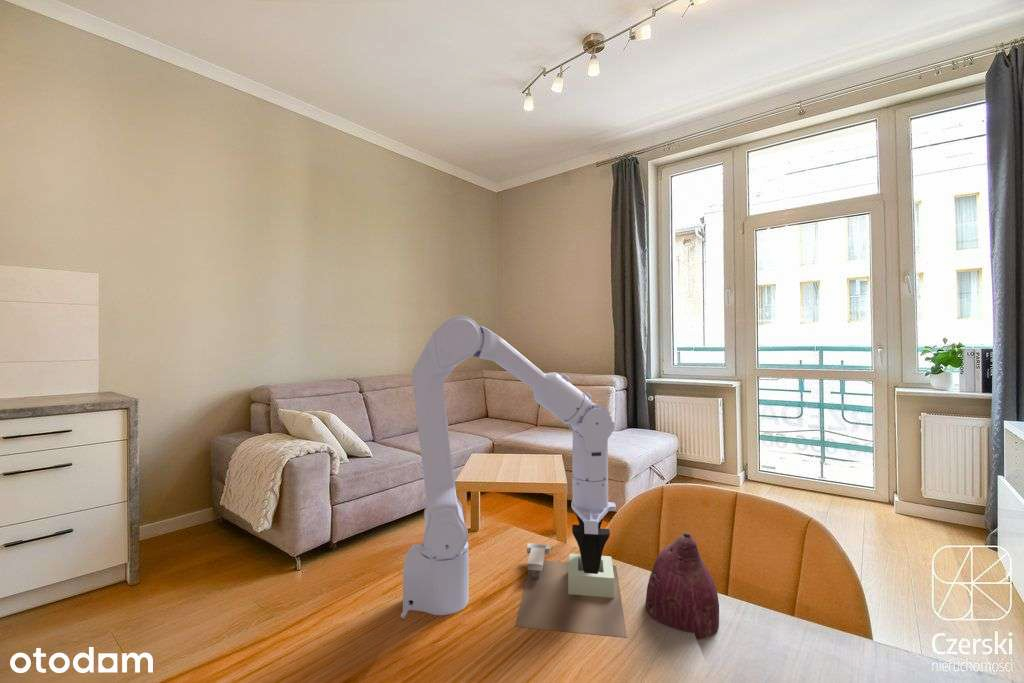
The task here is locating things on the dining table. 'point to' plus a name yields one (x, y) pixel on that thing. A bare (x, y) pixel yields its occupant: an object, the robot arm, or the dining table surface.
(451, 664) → the dining table surface
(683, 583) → the vegetable
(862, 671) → the dining table surface
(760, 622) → the dining table surface
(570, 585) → the square hollow frame
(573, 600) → the board
